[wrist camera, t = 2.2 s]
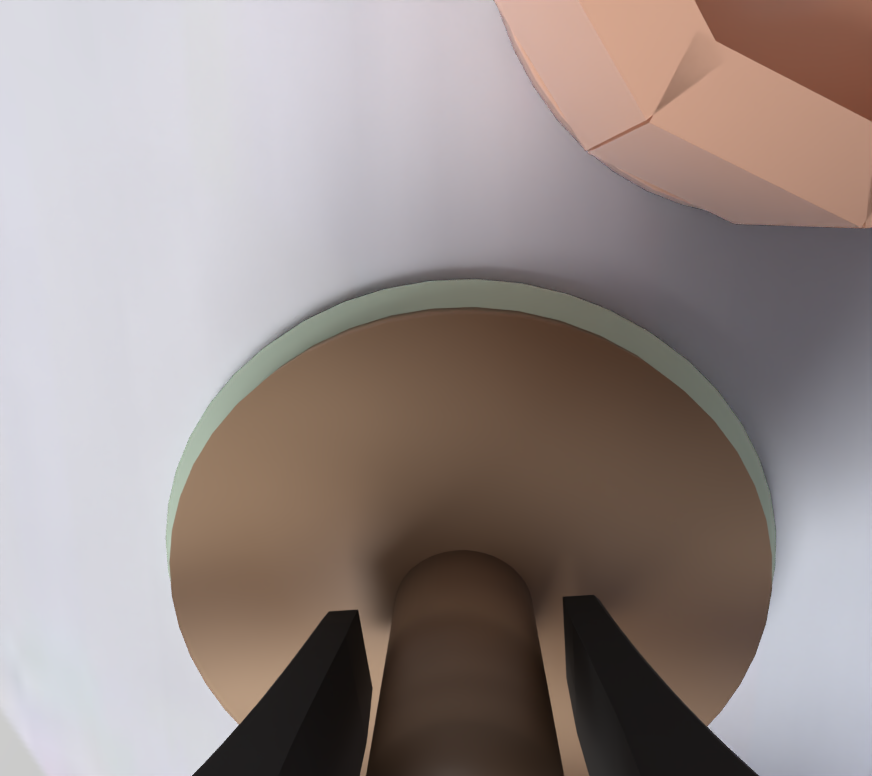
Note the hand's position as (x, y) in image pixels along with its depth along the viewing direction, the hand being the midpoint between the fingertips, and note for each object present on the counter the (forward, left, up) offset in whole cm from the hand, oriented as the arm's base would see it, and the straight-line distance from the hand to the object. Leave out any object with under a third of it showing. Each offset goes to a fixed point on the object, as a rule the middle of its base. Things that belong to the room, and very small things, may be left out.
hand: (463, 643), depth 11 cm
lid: (0, 0, -2) cm, 2 cm away
